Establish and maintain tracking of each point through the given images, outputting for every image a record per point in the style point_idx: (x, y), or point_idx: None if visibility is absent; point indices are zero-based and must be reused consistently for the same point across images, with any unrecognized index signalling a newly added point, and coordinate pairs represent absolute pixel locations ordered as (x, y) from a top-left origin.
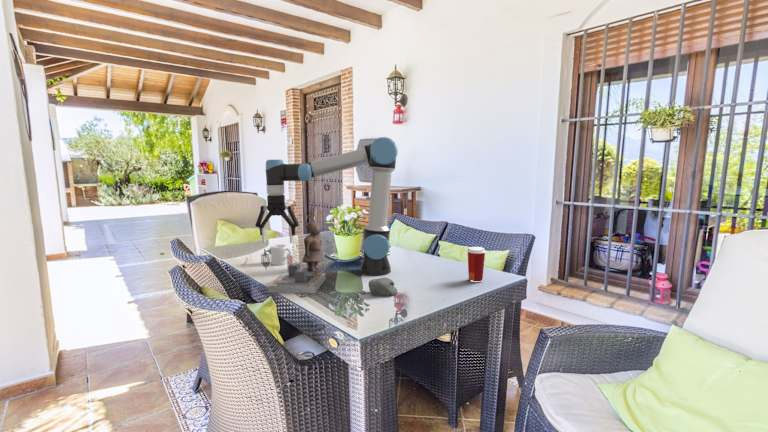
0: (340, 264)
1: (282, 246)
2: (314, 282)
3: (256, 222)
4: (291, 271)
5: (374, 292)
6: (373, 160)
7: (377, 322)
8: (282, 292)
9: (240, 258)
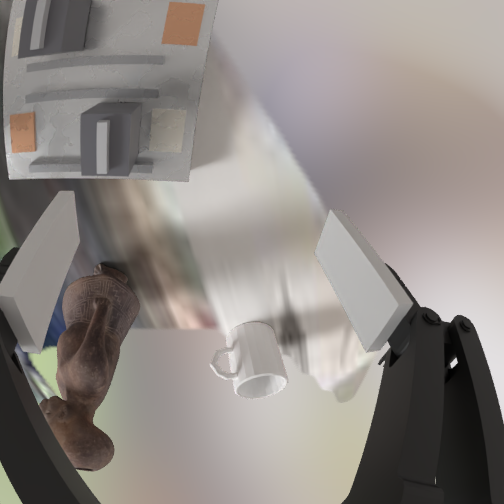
0: (51, 327)
1: (250, 392)
2: (15, 33)
3: (482, 353)
4: (121, 107)
5: None
6: None
7: None
8: None
9: (356, 358)
